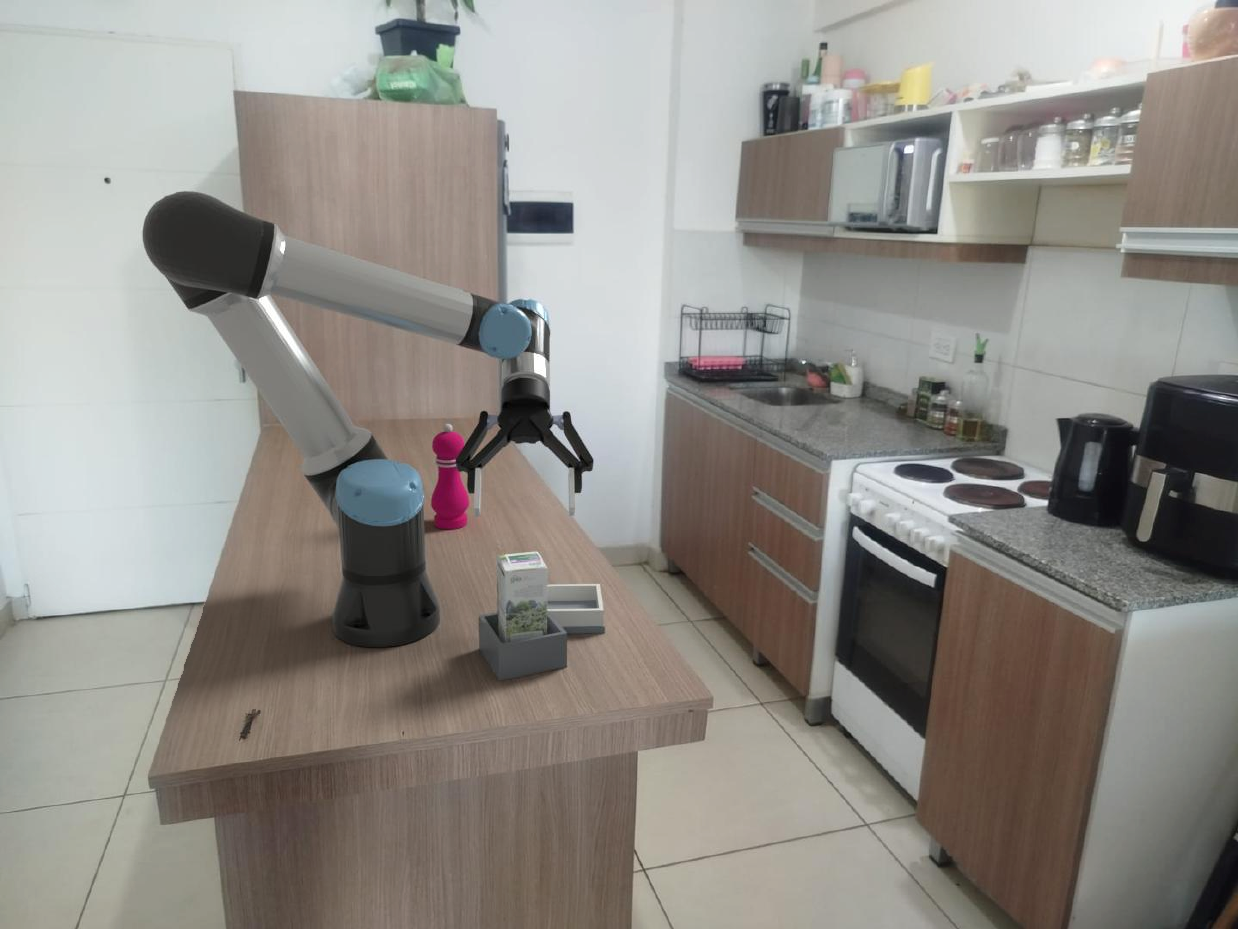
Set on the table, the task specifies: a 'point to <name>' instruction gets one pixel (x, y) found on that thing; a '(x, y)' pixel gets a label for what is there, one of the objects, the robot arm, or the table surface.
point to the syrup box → (521, 596)
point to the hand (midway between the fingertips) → (524, 512)
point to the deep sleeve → (522, 649)
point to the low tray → (577, 607)
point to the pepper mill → (449, 482)
